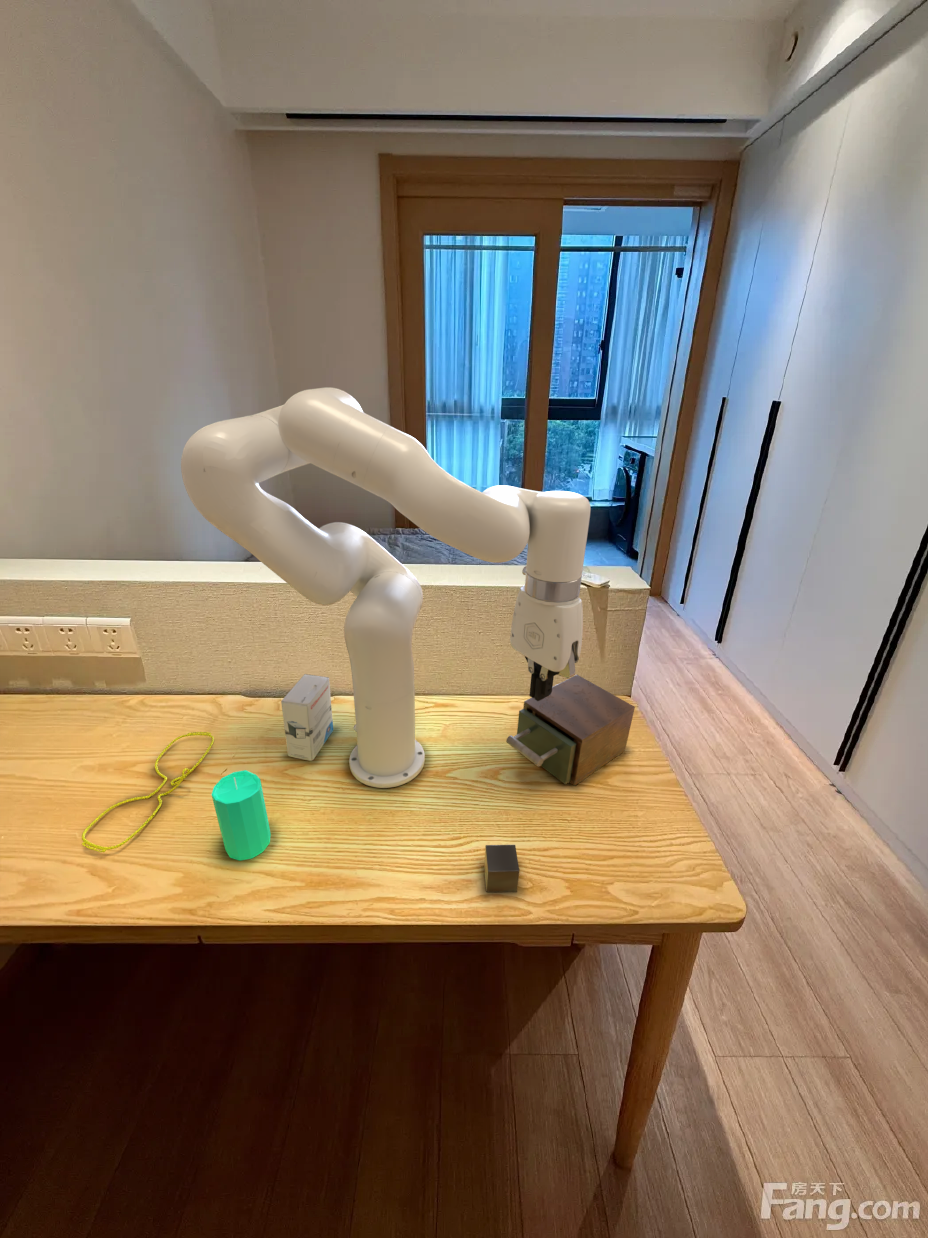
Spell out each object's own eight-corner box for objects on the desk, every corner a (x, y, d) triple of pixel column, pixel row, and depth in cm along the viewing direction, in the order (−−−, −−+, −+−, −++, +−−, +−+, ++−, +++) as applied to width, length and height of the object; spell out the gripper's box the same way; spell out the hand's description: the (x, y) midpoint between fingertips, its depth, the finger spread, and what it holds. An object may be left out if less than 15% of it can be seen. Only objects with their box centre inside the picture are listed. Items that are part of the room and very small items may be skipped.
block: (486, 892, 67) (487, 871, 65) (483, 865, 70) (485, 844, 68) (517, 891, 67) (519, 871, 65) (513, 864, 70) (515, 844, 69)
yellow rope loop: (183, 734, 92) (177, 712, 90) (235, 740, 91) (230, 719, 89) (68, 852, 70) (57, 827, 68) (135, 862, 69) (125, 837, 67)
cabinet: (574, 786, 84) (582, 739, 79) (519, 745, 92) (524, 701, 88) (625, 750, 92) (635, 706, 88) (570, 715, 100) (577, 674, 96)
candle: (244, 868, 69) (228, 802, 63) (216, 847, 71) (198, 782, 66) (280, 837, 73) (268, 773, 68) (252, 818, 76) (239, 755, 70)
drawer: (544, 799, 80) (550, 760, 76) (494, 758, 88) (497, 721, 84) (613, 751, 90) (621, 715, 87) (564, 719, 98) (569, 684, 95)
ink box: (310, 726, 95) (303, 672, 90) (336, 730, 94) (330, 676, 89) (287, 757, 88) (278, 700, 82) (314, 762, 87) (307, 705, 82)
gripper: (495, 574, 73) (489, 682, 82) (577, 611, 63) (561, 730, 71) (531, 563, 78) (522, 667, 86) (614, 596, 67) (595, 710, 76)
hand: (540, 695), depth 79 cm, fingers closed
